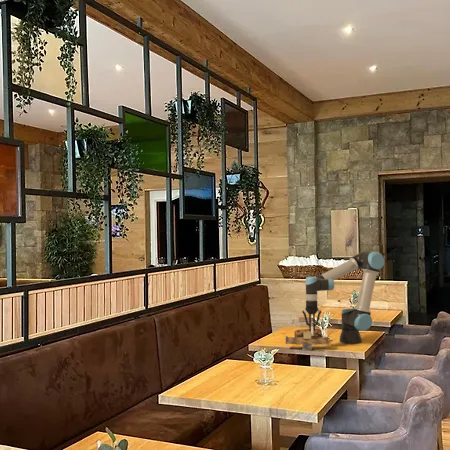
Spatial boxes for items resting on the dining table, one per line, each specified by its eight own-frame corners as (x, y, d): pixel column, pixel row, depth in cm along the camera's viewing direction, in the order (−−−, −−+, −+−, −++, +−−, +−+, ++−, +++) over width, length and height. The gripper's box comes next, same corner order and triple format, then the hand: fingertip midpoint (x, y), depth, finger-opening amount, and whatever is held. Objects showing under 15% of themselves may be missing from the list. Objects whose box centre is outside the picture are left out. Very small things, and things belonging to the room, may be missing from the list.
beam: (328, 348, 367) (328, 336, 367) (328, 350, 360) (328, 339, 360) (286, 347, 372) (286, 336, 372) (285, 350, 364) (285, 338, 364)
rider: (311, 339, 368) (311, 331, 368) (311, 341, 362) (311, 333, 362) (303, 339, 369) (303, 331, 369) (303, 341, 363) (303, 333, 363)
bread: (320, 341, 389) (320, 327, 389) (322, 344, 379) (322, 330, 379) (294, 341, 391) (294, 327, 391) (295, 345, 380) (295, 330, 380)
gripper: (321, 299, 368) (322, 334, 368) (301, 299, 370) (302, 334, 370) (321, 301, 361) (322, 337, 360) (301, 300, 363) (302, 336, 362)
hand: (312, 335), depth 365 cm, fingers closed
